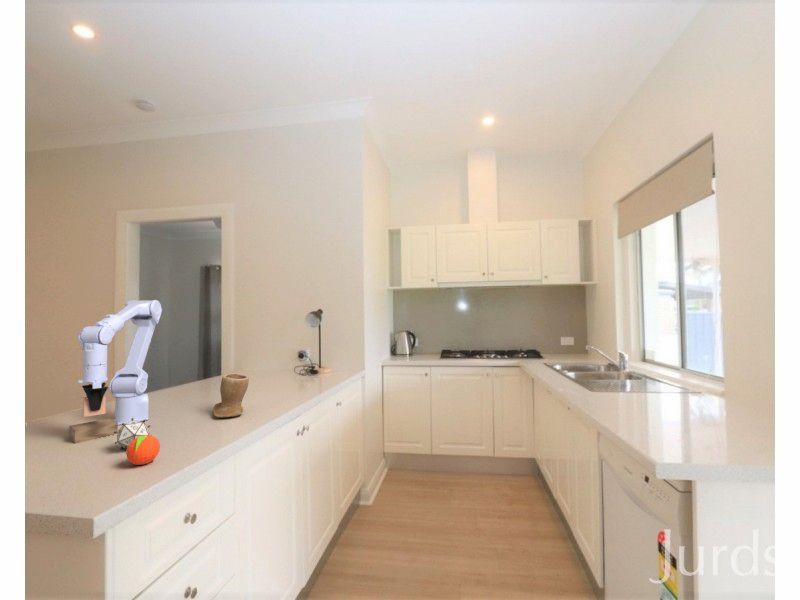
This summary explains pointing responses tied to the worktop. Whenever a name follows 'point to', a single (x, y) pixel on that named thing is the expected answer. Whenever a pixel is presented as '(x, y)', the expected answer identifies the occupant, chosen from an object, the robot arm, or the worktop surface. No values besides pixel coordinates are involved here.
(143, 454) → the clementine
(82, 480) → the worktop surface
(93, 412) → the terracotta cube
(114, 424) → the walnut block
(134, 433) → the game die
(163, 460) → the worktop surface
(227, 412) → the brown boot
